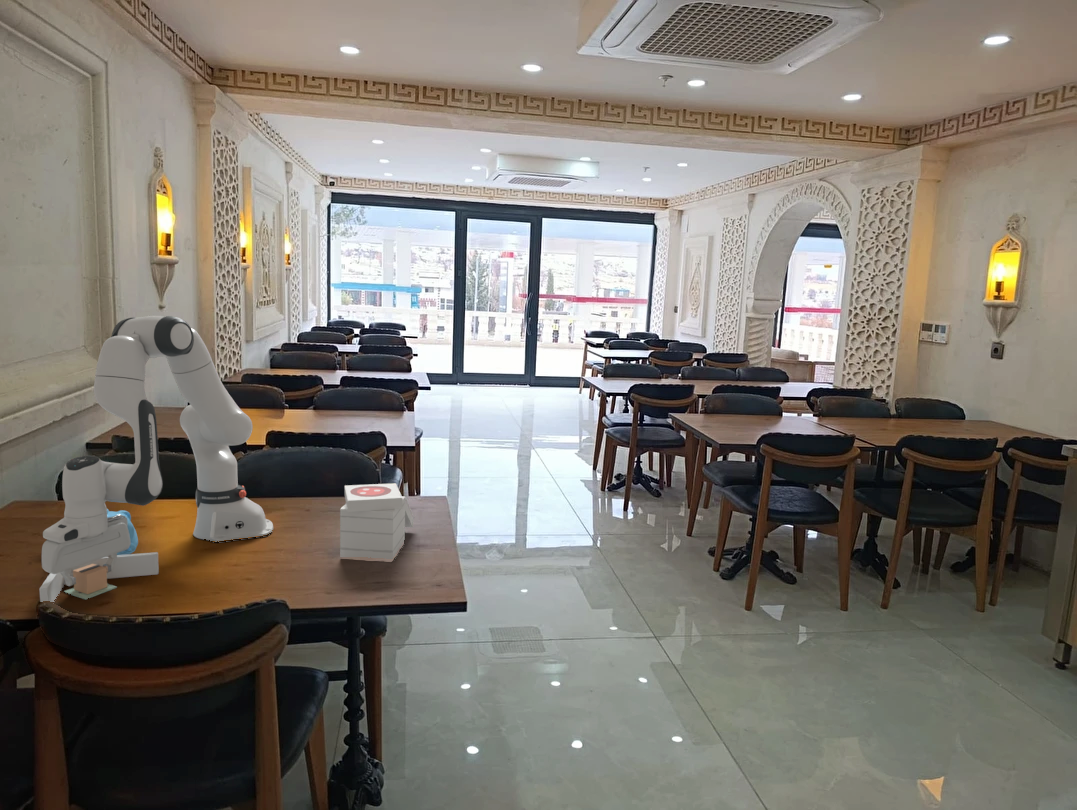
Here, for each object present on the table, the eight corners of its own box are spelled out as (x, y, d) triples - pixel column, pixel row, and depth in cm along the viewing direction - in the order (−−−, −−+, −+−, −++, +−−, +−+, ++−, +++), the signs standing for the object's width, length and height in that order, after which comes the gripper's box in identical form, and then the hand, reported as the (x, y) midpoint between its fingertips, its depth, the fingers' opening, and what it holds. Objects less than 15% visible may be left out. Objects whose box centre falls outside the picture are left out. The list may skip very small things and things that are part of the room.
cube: (94, 582, 185) (92, 562, 184) (107, 586, 183) (106, 566, 182) (74, 589, 180) (72, 569, 179) (87, 594, 178) (86, 573, 177)
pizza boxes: (419, 529, 234) (420, 474, 231) (397, 566, 205) (398, 503, 202) (360, 526, 235) (360, 471, 232) (329, 562, 205) (328, 499, 202)
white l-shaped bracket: (158, 572, 194) (157, 552, 193) (148, 601, 177) (147, 579, 176) (61, 580, 186) (59, 559, 185) (41, 611, 169) (39, 588, 169)
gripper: (118, 510, 189) (120, 561, 192) (35, 533, 171) (39, 590, 173) (134, 514, 187) (137, 566, 189) (52, 538, 168) (56, 596, 171)
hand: (90, 578), depth 181 cm, fingers open, 8 cm apart
